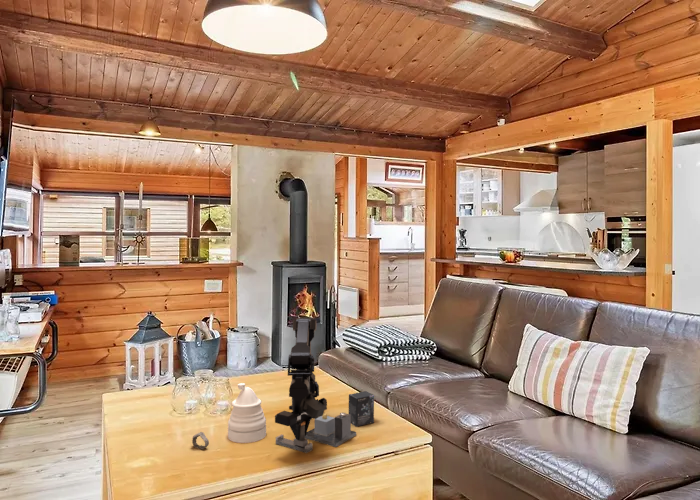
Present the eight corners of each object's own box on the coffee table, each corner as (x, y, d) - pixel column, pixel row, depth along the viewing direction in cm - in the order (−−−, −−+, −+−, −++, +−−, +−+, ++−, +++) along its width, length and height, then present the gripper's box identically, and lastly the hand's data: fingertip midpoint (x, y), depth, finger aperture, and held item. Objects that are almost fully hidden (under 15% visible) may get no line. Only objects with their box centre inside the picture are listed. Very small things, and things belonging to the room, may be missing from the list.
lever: (292, 444, 165) (292, 422, 165) (298, 441, 167) (298, 419, 167) (302, 447, 163) (302, 424, 163) (308, 444, 165) (308, 422, 165)
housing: (314, 432, 176) (314, 414, 176) (323, 427, 180) (323, 410, 180) (326, 435, 173) (326, 417, 173) (334, 430, 177) (334, 413, 177)
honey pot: (233, 445, 168) (233, 391, 167) (223, 432, 179) (223, 381, 179) (271, 438, 174) (271, 385, 173) (259, 426, 185) (259, 376, 184)
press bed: (302, 437, 174) (302, 411, 174) (323, 426, 184) (323, 401, 184) (336, 447, 167) (336, 419, 166) (356, 435, 177) (356, 409, 176)
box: (356, 427, 184) (356, 398, 184) (348, 422, 189) (348, 394, 188) (374, 423, 188) (374, 394, 188) (365, 418, 193) (365, 390, 193)
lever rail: (275, 443, 169) (275, 437, 169) (281, 440, 172) (281, 434, 172) (306, 453, 162) (306, 446, 162) (312, 449, 164) (312, 443, 164)
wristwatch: (197, 444, 169) (197, 429, 169) (211, 448, 166) (211, 432, 166) (189, 448, 166) (189, 432, 166) (203, 452, 163) (202, 436, 163)
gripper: (301, 402, 152) (301, 454, 153) (338, 387, 168) (338, 434, 168) (273, 395, 159) (273, 445, 159) (311, 381, 174) (311, 427, 174)
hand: (300, 438), depth 165 cm, fingers closed on lever, 3 cm apart
